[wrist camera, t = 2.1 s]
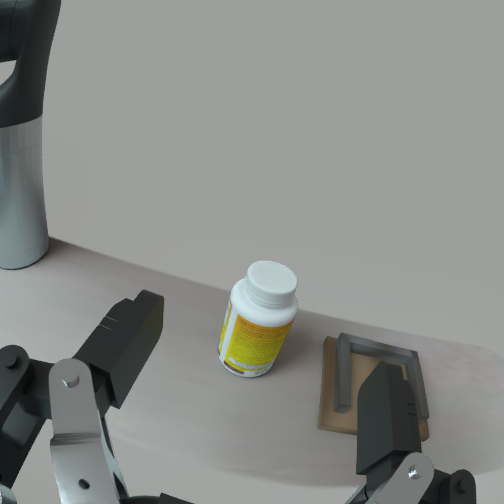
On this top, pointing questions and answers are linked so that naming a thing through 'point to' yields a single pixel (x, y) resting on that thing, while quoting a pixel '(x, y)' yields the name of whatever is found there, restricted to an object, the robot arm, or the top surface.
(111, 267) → the top surface
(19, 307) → the top surface
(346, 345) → the notched cradle board
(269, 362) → the supplement bottle
